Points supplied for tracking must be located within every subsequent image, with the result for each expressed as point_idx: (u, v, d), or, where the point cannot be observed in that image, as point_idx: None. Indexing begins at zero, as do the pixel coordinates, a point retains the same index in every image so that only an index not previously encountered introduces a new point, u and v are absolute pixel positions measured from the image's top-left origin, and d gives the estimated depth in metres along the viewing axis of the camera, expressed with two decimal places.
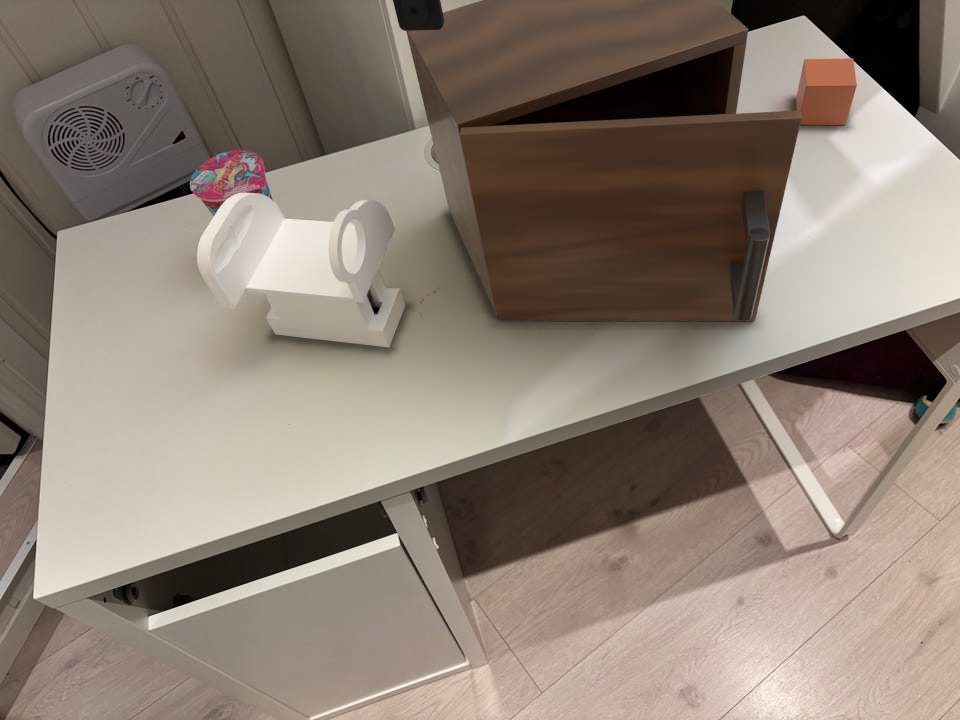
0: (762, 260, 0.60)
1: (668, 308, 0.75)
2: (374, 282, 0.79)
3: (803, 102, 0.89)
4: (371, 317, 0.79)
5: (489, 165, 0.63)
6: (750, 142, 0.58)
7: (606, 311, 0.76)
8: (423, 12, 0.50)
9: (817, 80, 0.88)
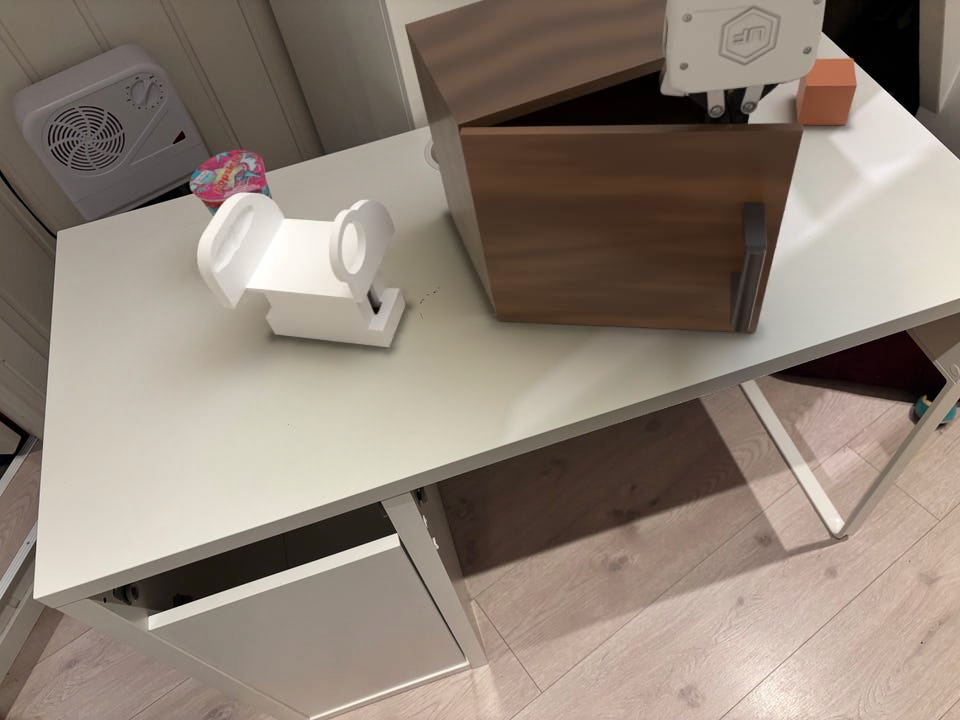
0: (759, 273, 0.60)
1: (668, 316, 0.74)
2: (374, 282, 0.79)
3: (803, 102, 0.89)
4: (371, 317, 0.79)
5: (488, 166, 0.63)
6: (751, 153, 0.57)
7: (605, 316, 0.76)
8: None
9: (817, 80, 0.88)
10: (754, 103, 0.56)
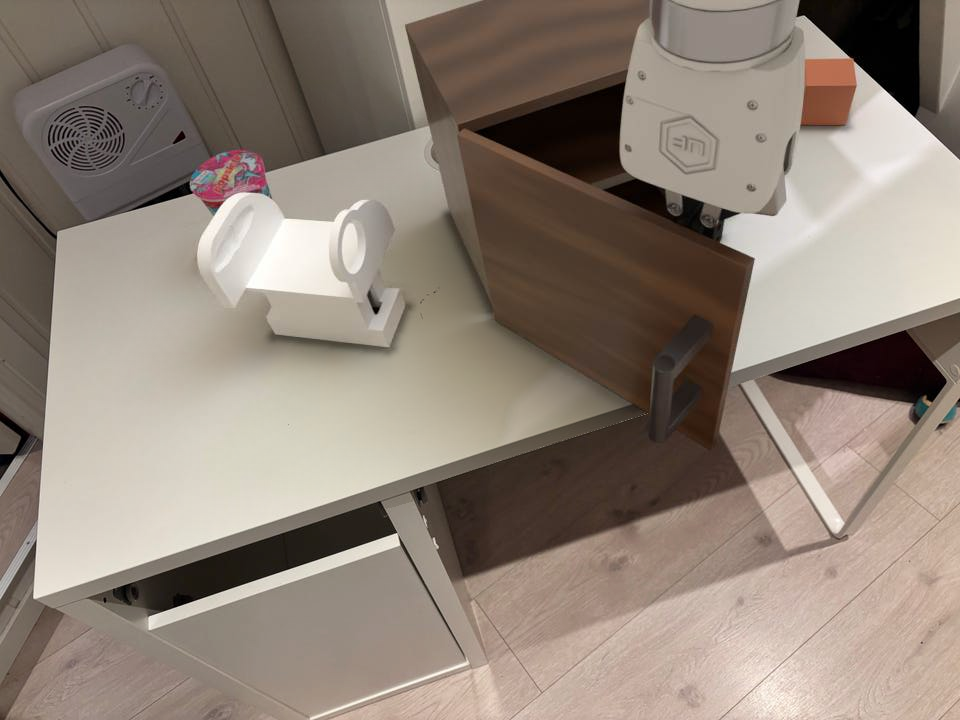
0: (664, 391, 0.54)
1: (632, 392, 0.70)
2: (374, 282, 0.79)
3: (803, 102, 0.89)
4: (371, 317, 0.79)
5: (480, 174, 0.62)
6: (698, 267, 0.51)
7: (579, 363, 0.73)
8: None
9: (817, 80, 0.88)
10: (714, 219, 0.49)
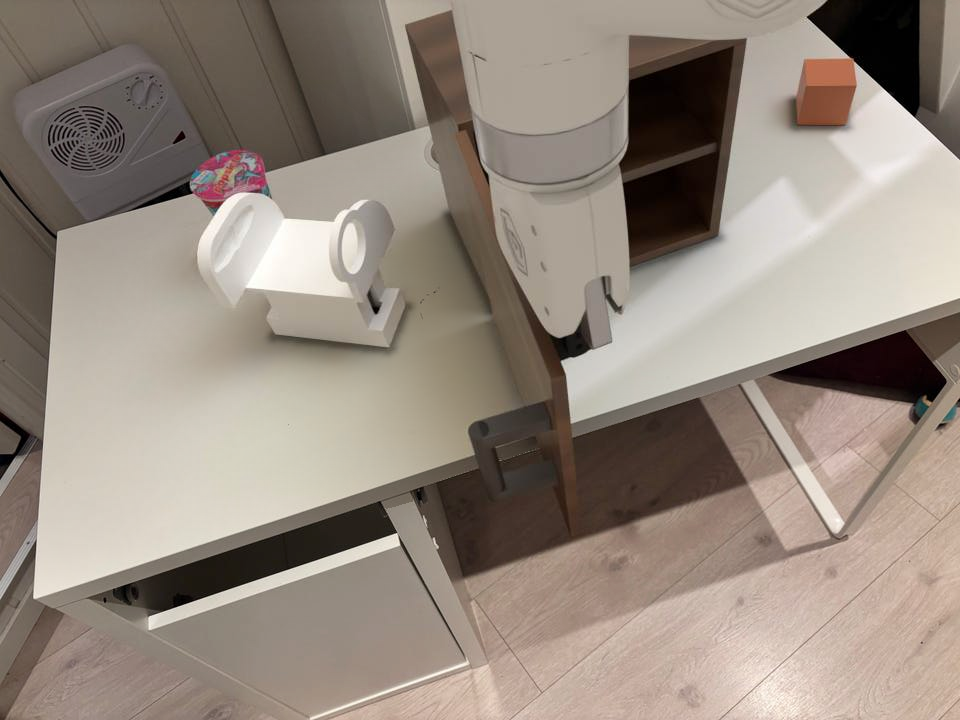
0: (478, 455, 0.54)
1: (540, 445, 0.68)
2: (374, 282, 0.79)
3: (803, 102, 0.89)
4: (371, 317, 0.79)
5: (466, 178, 0.62)
6: (537, 357, 0.49)
7: (521, 394, 0.72)
8: None
9: (817, 80, 0.88)
10: None
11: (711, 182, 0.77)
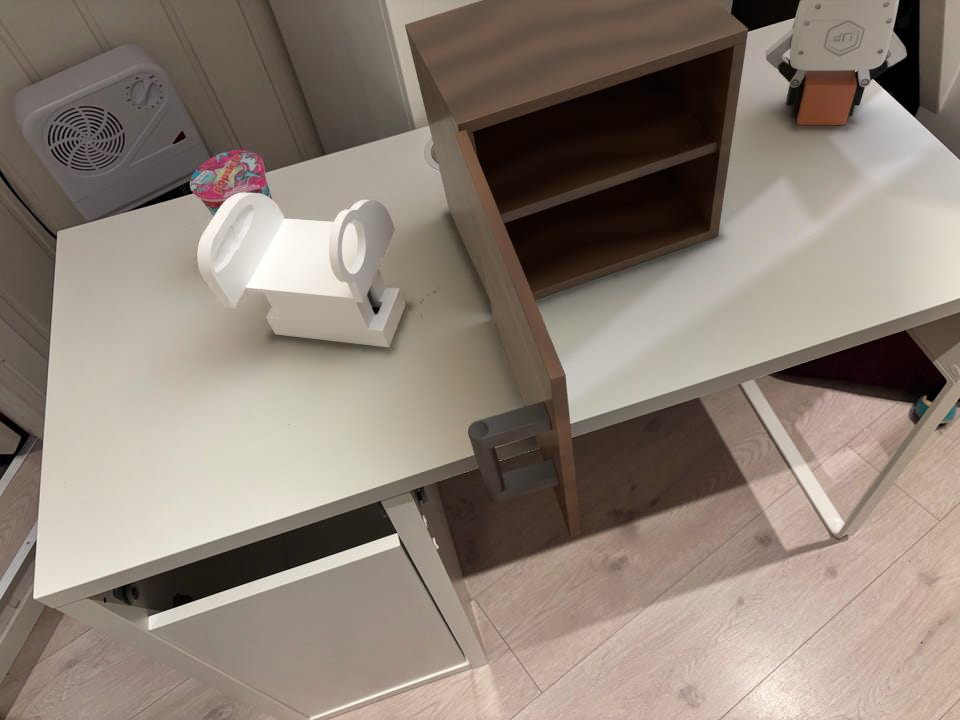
0: (477, 455, 0.54)
1: (539, 445, 0.68)
2: (374, 282, 0.79)
3: (803, 102, 0.89)
4: (371, 317, 0.79)
5: (466, 178, 0.62)
6: (536, 357, 0.49)
7: (521, 394, 0.72)
8: (787, 101, 0.92)
9: (817, 80, 0.88)
10: (868, 80, 0.87)
11: (711, 182, 0.77)
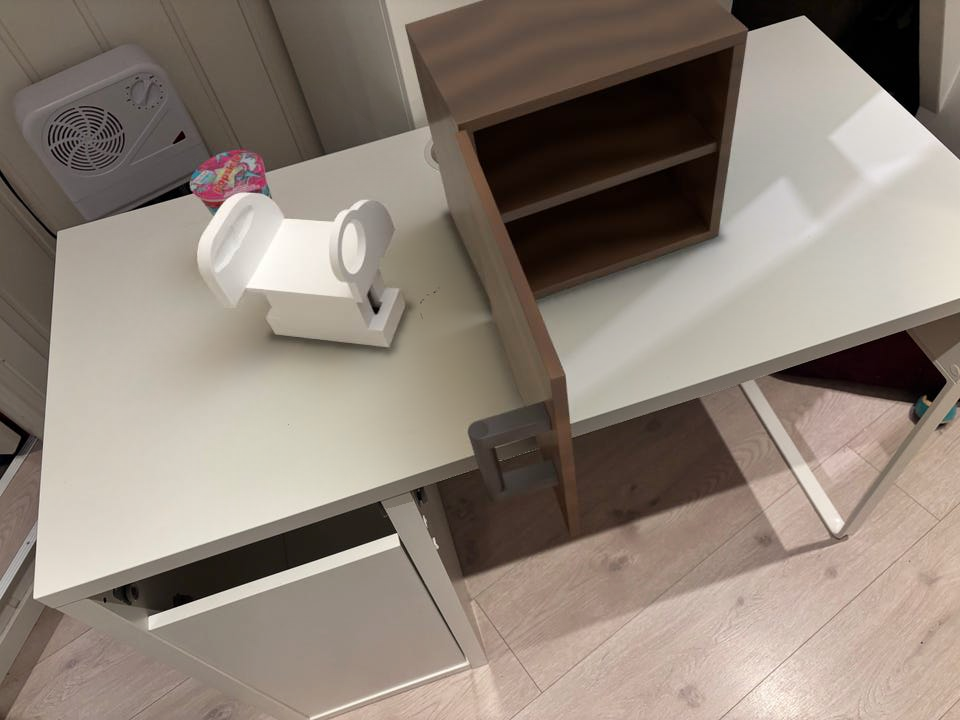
0: (477, 455, 0.54)
1: (539, 445, 0.68)
2: (374, 282, 0.79)
3: None
4: (371, 317, 0.79)
5: (466, 178, 0.62)
6: (536, 357, 0.49)
7: (521, 394, 0.72)
8: None
9: None
10: None
11: (711, 182, 0.77)
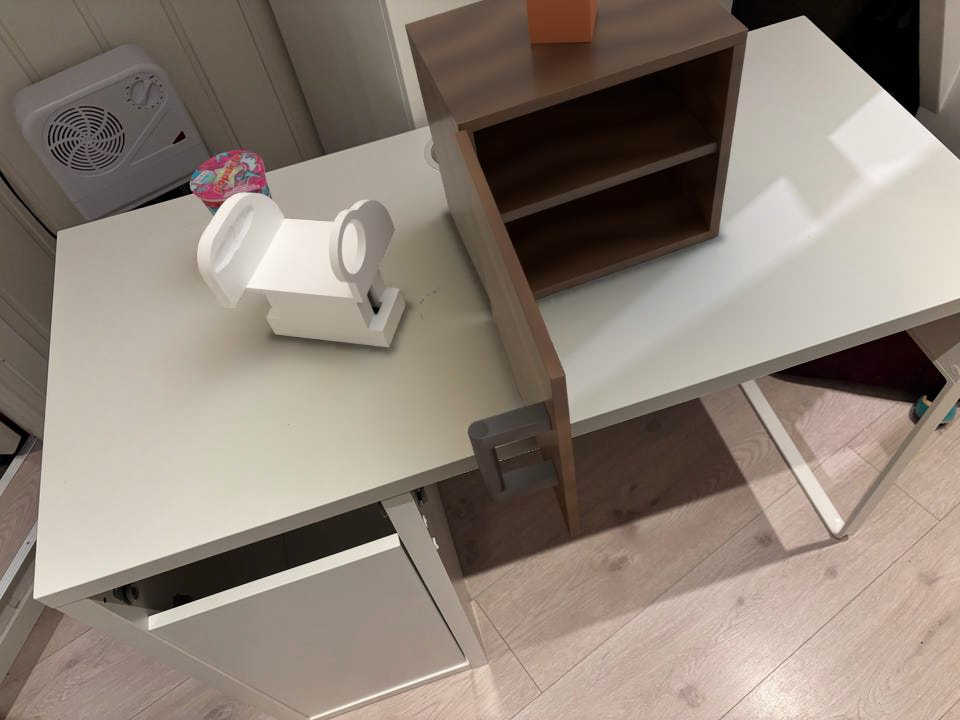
0: (477, 455, 0.54)
1: (539, 445, 0.68)
2: (374, 282, 0.79)
3: (528, 9, 0.64)
4: (371, 317, 0.79)
5: (466, 178, 0.62)
6: (536, 357, 0.49)
7: (521, 394, 0.72)
8: None
9: None
10: None
11: (711, 182, 0.77)
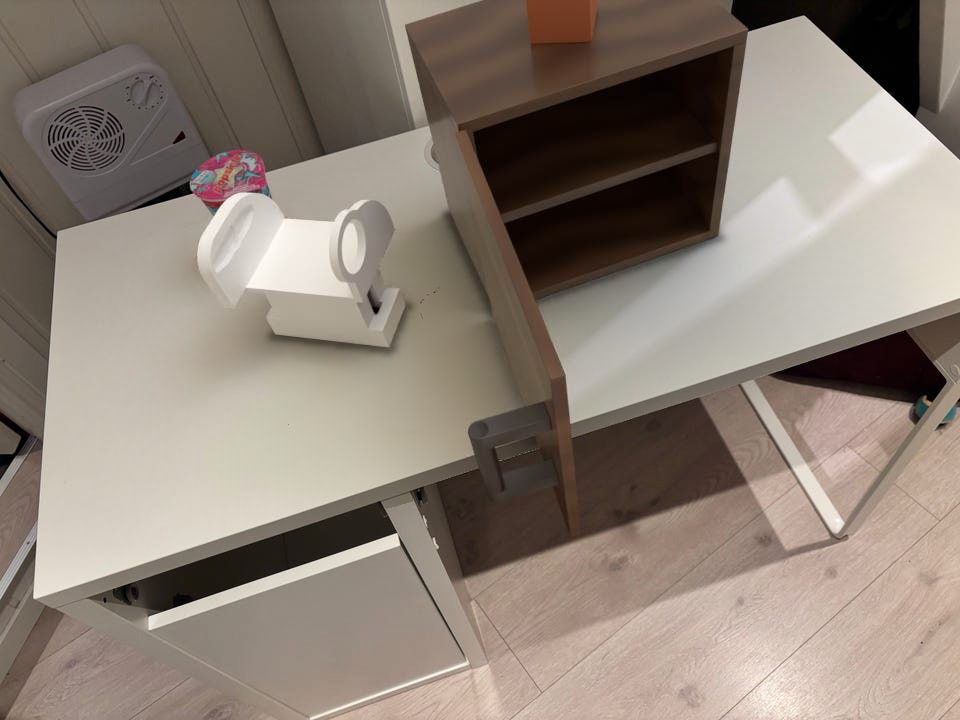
0: (477, 455, 0.54)
1: (539, 445, 0.68)
2: (374, 282, 0.79)
3: (528, 9, 0.64)
4: (371, 317, 0.79)
5: (466, 178, 0.62)
6: (536, 357, 0.49)
7: (521, 394, 0.72)
8: None
9: None
10: None
11: (711, 182, 0.77)
